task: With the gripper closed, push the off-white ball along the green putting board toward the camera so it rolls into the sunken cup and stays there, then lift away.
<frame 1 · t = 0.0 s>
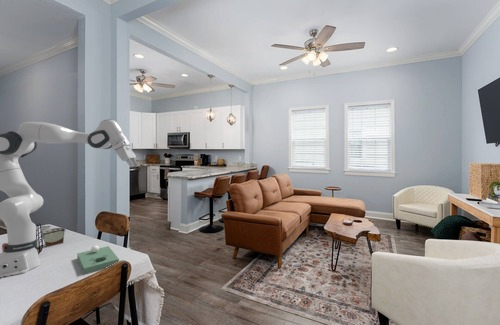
hand: (134, 166, 139), 54 cm above the table, tool tilted 30°, fingers open, 8 cm apart
putting board: (97, 261, 135), on the table
ball: (95, 249, 140), point 5 cm above the table, touching putting board
food container: (53, 244, 159), on the table
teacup: (40, 238, 170), on the table
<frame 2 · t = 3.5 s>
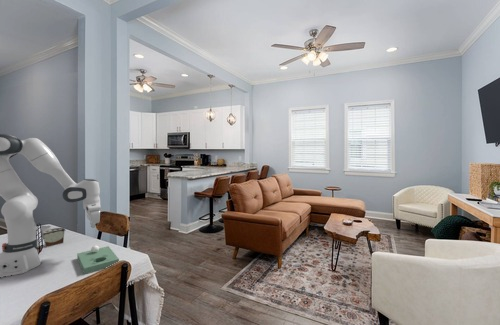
hand: (93, 227, 145), 16 cm above the table, tool pointing down, fingers closed
nothing on the table moved.
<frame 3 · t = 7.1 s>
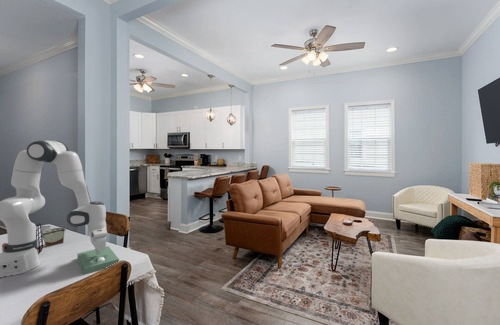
hand: (97, 253, 135), 4 cm above the table, tool pointing down, fingers closed
ball: (101, 261, 131), point 2 cm above the table, tilted 47°, touching putting board
everything else where it was.
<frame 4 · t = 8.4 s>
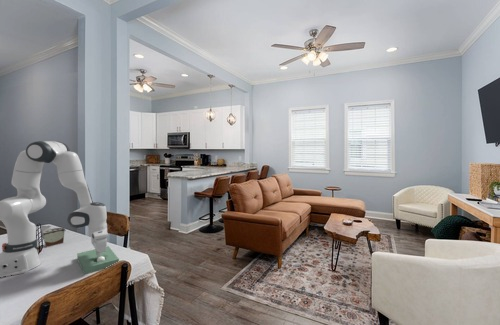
hand: (98, 255, 133), 4 cm above the table, tool pointing down, fingers closed
ball: (101, 260, 132), point 2 cm above the table, tilted 11°, touching putting board
everything else where it was.
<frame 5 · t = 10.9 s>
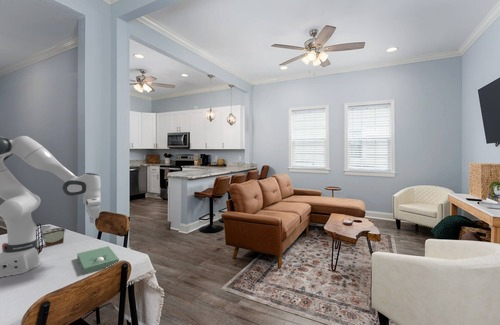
hand: (92, 222, 142), 20 cm above the table, tool pointing down, fingers closed
ball: (100, 260, 131), point 2 cm above the table, tilted 26°, touching putting board
everything else where it was.
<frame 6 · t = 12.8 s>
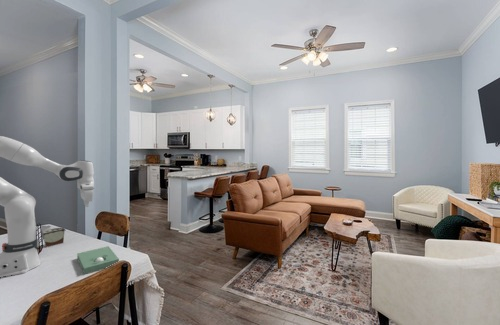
hand: (86, 206, 153), 27 cm above the table, tool pointing down, fingers closed
ball: (99, 261, 130), point 2 cm above the table, tilted 41°, touching putting board
everything else where it was.
at the end: ball 0.4 cm from the target spot on the putting board, point 2.3 cm above the putting board's base; ball moved 13.5 cm from its start; the gripper is holding nothing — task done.
